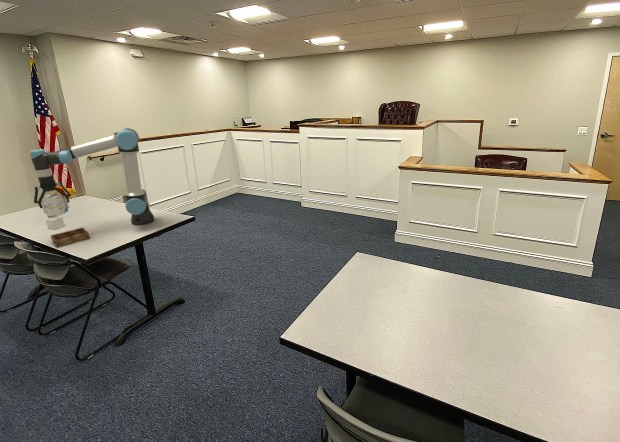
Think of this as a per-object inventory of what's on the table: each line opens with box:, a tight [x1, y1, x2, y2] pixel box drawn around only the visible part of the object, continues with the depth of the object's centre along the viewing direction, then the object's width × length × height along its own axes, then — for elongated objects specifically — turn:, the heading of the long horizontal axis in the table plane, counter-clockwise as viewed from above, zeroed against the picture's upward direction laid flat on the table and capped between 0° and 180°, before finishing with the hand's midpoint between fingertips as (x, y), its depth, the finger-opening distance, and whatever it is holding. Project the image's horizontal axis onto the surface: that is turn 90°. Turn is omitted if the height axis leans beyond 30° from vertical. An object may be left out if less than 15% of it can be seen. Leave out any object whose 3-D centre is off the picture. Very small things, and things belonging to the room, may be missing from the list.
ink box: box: [41, 191, 69, 217], centre depth 214 cm, size 9×8×13 cm
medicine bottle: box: [44, 215, 65, 230], centre depth 243 cm, size 7×7×12 cm
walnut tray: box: [50, 227, 91, 249], centre depth 220 cm, size 18×15×4 cm
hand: (56, 210), depth 215 cm, fingers closed on ink box, 11 cm apart
